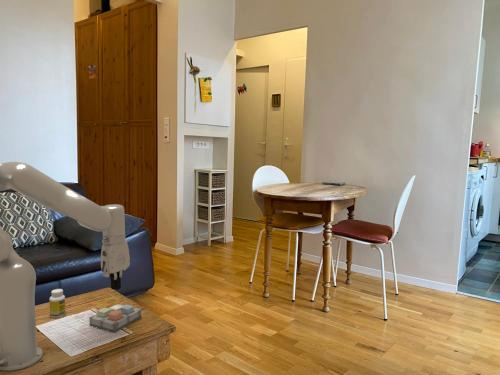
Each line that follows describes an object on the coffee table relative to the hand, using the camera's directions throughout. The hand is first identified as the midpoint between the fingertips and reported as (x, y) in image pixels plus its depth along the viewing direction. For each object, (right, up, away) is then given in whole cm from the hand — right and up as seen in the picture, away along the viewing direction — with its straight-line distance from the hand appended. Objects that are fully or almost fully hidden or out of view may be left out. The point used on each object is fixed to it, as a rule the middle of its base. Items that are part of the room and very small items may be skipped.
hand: (116, 288), depth 141 cm
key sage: (-5, -11, +3) cm, 13 cm away
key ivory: (-3, -12, +9) cm, 15 cm away
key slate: (+2, -11, +6) cm, 13 cm away
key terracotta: (0, -12, +1) cm, 12 cm away
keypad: (-2, -14, +5) cm, 15 cm away
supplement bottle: (-26, -13, +10) cm, 31 cm away
